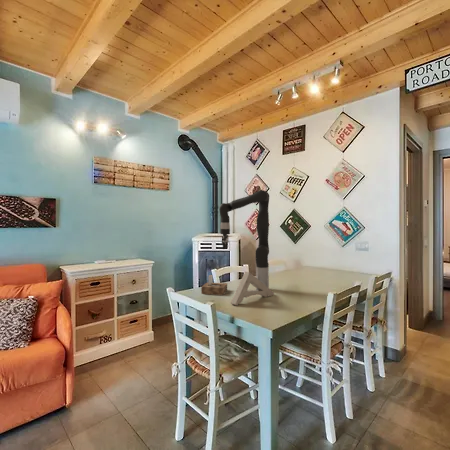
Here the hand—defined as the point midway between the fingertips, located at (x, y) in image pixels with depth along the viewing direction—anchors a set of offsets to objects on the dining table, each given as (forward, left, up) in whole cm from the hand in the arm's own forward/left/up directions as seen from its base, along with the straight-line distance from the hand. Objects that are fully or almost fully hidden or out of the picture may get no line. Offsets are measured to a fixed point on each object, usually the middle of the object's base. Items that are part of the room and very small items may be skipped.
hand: (225, 248), depth 219 cm
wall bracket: (-26, +33, -31) cm, 52 cm away
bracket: (+4, +19, -28) cm, 34 cm away
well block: (+4, +19, -30) cm, 36 cm away
